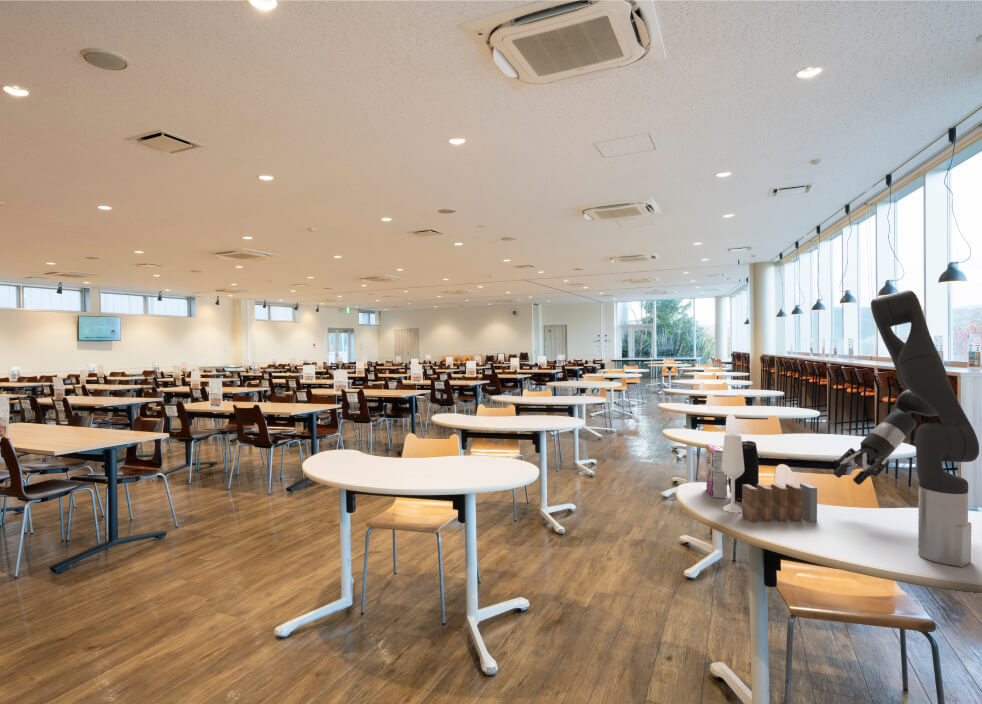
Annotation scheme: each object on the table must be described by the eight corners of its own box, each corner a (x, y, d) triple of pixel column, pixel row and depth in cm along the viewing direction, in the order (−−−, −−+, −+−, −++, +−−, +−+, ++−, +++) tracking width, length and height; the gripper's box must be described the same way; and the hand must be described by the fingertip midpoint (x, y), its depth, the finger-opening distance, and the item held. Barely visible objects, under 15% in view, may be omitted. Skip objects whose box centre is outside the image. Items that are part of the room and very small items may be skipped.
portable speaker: (723, 496, 181) (723, 440, 180) (747, 494, 183) (747, 439, 182) (739, 503, 172) (739, 444, 172) (764, 502, 174) (764, 443, 174)
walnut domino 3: (777, 516, 160) (777, 483, 160) (787, 521, 155) (787, 488, 155) (771, 516, 160) (771, 483, 160) (780, 521, 155) (780, 488, 155)
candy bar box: (705, 489, 190) (705, 444, 190) (719, 489, 189) (720, 444, 189) (711, 498, 179) (711, 450, 179) (727, 498, 178) (727, 451, 178)
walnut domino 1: (748, 516, 160) (748, 484, 160) (757, 522, 155) (757, 488, 155) (742, 516, 160) (742, 484, 160) (750, 522, 155) (750, 489, 155)
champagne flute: (716, 508, 168) (716, 434, 168) (730, 504, 172) (730, 432, 171) (735, 514, 162) (735, 437, 162) (749, 510, 166) (749, 435, 165)
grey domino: (806, 515, 161) (806, 483, 160) (817, 521, 156) (817, 487, 155) (799, 515, 161) (799, 483, 160) (810, 521, 156) (810, 487, 155)
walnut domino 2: (763, 516, 160) (763, 484, 160) (772, 522, 155) (772, 488, 155) (756, 516, 160) (756, 484, 160) (765, 522, 155) (765, 488, 155)
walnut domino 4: (791, 515, 160) (792, 483, 160) (802, 521, 155) (802, 488, 155) (785, 516, 160) (785, 483, 160) (795, 521, 155) (795, 488, 155)
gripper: (857, 428, 165) (821, 465, 165) (892, 435, 151) (853, 475, 151) (873, 445, 165) (838, 482, 165) (910, 454, 151) (872, 494, 151)
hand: (845, 479), depth 158 cm, fingers open, 8 cm apart
